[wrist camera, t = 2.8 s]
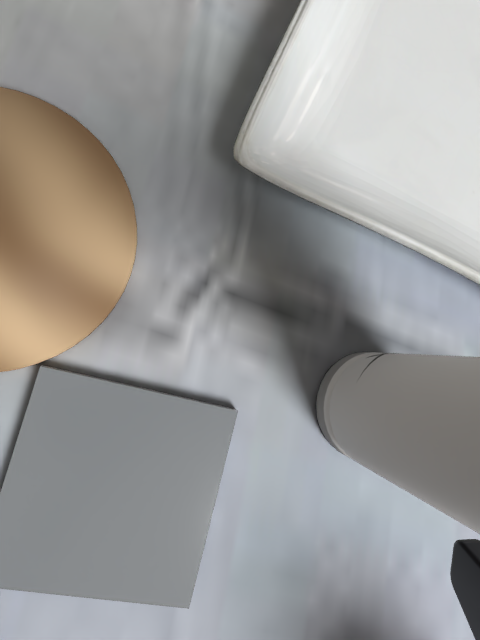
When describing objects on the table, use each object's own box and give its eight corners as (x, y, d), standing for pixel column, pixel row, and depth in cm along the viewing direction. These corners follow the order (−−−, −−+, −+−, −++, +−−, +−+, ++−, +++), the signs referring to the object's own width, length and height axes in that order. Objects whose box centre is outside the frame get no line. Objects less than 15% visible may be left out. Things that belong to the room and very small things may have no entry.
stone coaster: (187, 600, 19) (188, 608, 19) (-23, 577, 17) (-30, 585, 16) (235, 409, 20) (237, 410, 20) (43, 365, 18) (40, 365, 18)
